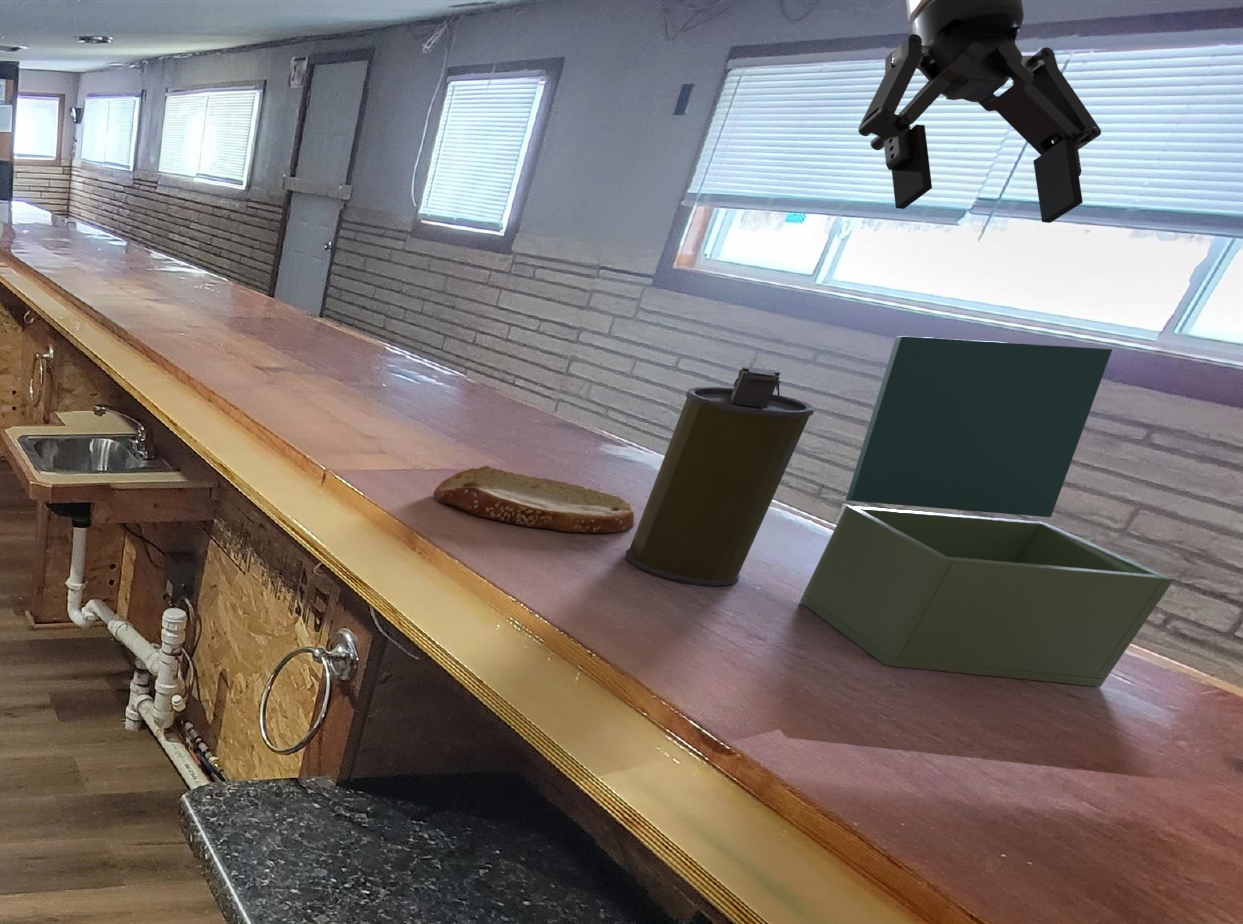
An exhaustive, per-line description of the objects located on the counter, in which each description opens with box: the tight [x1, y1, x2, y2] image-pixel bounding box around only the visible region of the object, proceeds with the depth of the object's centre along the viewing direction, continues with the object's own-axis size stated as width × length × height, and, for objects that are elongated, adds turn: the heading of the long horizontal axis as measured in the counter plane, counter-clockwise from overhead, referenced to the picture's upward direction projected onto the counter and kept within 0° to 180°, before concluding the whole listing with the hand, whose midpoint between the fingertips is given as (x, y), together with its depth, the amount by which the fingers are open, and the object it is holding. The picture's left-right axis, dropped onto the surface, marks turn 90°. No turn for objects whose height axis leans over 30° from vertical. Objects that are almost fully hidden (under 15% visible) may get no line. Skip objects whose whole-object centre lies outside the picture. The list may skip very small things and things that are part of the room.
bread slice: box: [433, 465, 636, 534], centre depth 115 cm, size 18×18×4 cm
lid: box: [845, 335, 1113, 518], centre depth 89 cm, size 14×17×4 cm
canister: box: [625, 366, 816, 587], centre depth 97 cm, size 11×10×20 cm
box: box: [799, 505, 1175, 688], centre depth 86 cm, size 14×17×10 cm
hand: (988, 205), depth 87 cm, fingers open, 13 cm apart
